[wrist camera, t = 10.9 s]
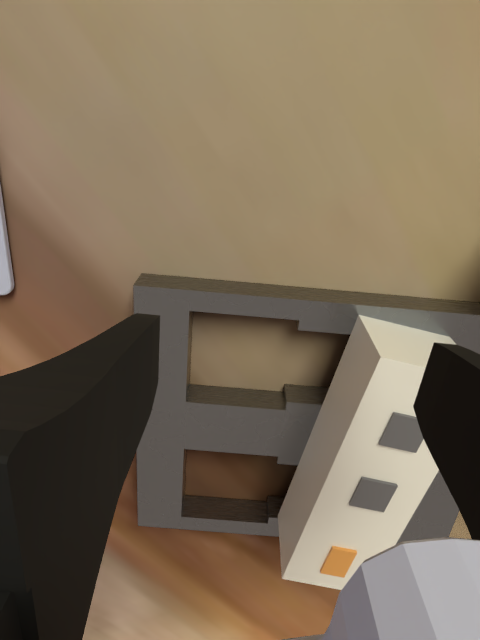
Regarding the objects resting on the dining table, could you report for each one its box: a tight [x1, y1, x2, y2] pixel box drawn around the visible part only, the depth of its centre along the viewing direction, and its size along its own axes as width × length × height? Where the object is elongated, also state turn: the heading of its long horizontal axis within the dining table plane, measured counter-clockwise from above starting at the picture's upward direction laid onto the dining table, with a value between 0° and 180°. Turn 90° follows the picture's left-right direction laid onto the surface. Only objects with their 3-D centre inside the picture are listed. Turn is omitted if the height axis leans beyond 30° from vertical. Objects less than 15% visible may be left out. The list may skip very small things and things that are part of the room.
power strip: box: [278, 315, 456, 590], centre depth 22 cm, size 4×13×5 cm, turn 166°
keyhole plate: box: [133, 273, 480, 544], centre depth 24 cm, size 18×15×2 cm
